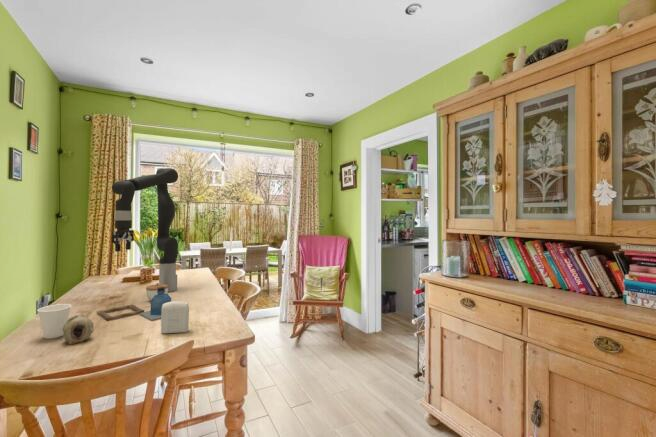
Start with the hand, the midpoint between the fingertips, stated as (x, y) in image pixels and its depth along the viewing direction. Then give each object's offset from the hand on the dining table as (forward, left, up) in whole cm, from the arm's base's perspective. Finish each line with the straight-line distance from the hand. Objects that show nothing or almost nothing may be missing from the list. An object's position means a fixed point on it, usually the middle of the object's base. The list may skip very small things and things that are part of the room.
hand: (123, 250), depth 162 cm
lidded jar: (-15, +5, -28) cm, 33 cm away
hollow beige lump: (+27, +40, -28) cm, 56 cm away
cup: (+32, +28, -28) cm, 51 cm away
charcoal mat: (-6, +31, -28) cm, 42 cm away
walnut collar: (+6, +16, -28) cm, 33 cm away
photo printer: (0, +58, -28) cm, 65 cm away
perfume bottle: (-6, +31, -28) cm, 42 cm away
